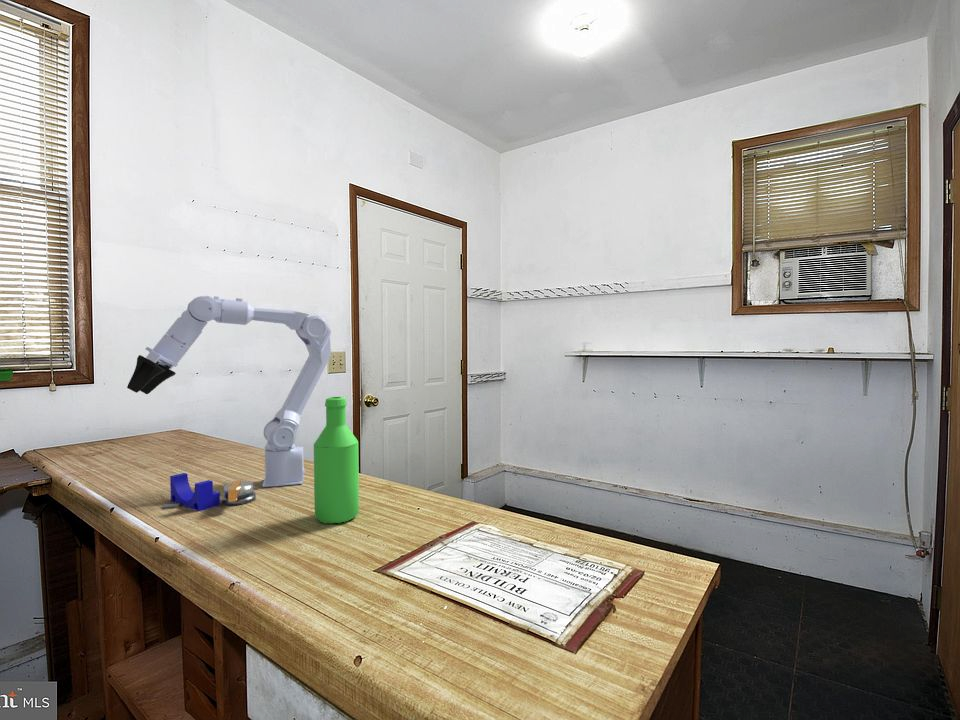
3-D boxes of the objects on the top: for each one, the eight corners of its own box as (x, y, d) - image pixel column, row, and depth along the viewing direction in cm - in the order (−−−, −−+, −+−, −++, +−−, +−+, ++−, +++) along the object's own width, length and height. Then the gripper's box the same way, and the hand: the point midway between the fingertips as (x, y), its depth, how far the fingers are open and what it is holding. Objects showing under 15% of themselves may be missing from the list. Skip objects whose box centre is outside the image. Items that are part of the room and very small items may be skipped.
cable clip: (220, 505, 107) (219, 479, 107) (199, 512, 103) (198, 484, 103) (191, 496, 114) (190, 471, 113) (170, 502, 110) (170, 476, 110)
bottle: (346, 527, 95) (345, 400, 94) (306, 523, 97) (304, 399, 95) (365, 511, 103) (364, 395, 102) (328, 508, 105) (327, 394, 104)
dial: (226, 491, 112) (226, 476, 112) (254, 489, 114) (254, 474, 114) (216, 508, 101) (216, 491, 101) (248, 505, 103) (247, 488, 103)
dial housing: (257, 494, 115) (257, 489, 115) (253, 503, 108) (253, 499, 108) (224, 497, 113) (224, 492, 113) (218, 507, 106) (218, 502, 106)
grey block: (180, 504, 108) (180, 502, 108) (177, 507, 106) (177, 505, 106) (164, 505, 107) (164, 504, 107) (161, 509, 105) (161, 507, 105)
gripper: (168, 336, 116) (130, 383, 113) (151, 325, 103) (107, 379, 99) (196, 352, 118) (159, 399, 114) (183, 343, 105) (140, 397, 101)
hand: (137, 391), depth 107 cm, fingers open, 7 cm apart
